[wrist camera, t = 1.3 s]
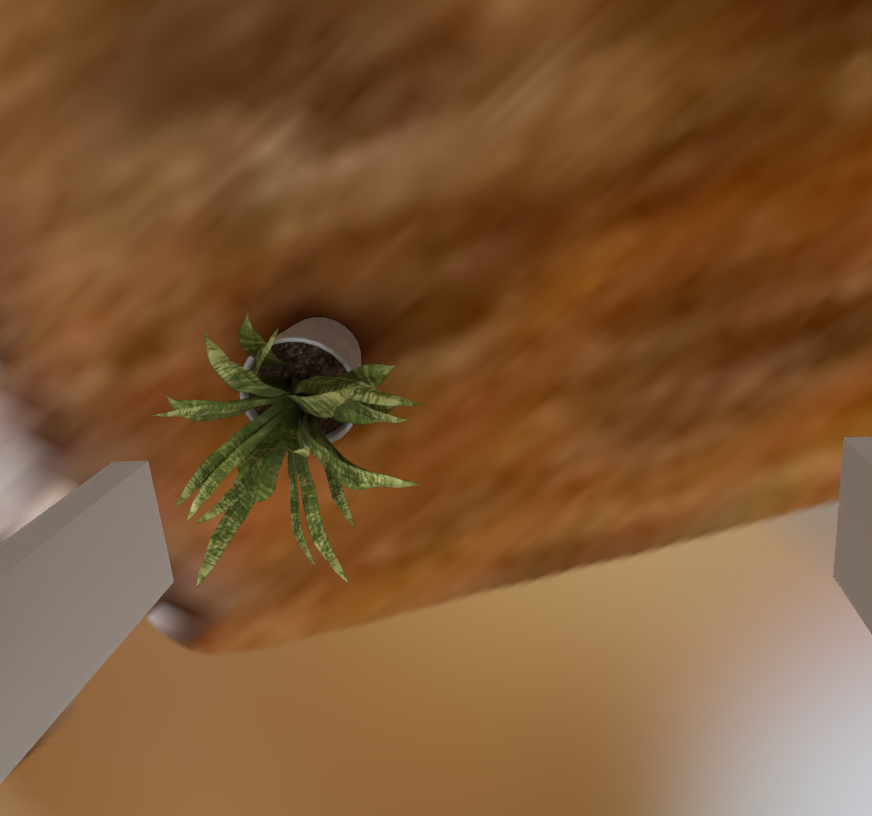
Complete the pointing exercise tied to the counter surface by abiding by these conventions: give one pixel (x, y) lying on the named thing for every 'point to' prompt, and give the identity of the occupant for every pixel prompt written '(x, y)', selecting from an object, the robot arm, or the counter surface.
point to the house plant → (289, 426)
